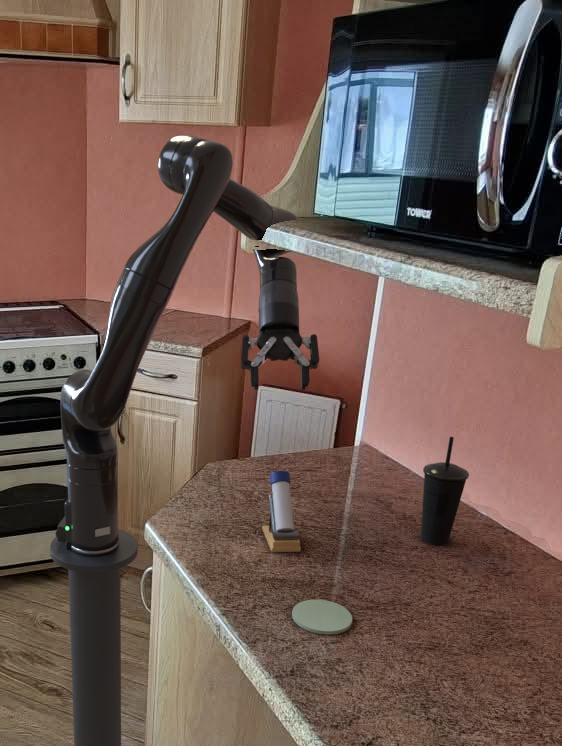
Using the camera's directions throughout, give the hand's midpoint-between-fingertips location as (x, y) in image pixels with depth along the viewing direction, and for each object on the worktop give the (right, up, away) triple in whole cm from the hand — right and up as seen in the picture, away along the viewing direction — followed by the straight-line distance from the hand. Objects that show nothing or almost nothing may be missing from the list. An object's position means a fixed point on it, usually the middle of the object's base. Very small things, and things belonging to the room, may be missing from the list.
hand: (280, 388), depth 145 cm
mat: (+2, -38, -24) cm, 45 cm away
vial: (0, -26, +1) cm, 26 cm away
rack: (0, -28, 0) cm, 28 cm away
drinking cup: (+29, -28, +1) cm, 40 cm away
